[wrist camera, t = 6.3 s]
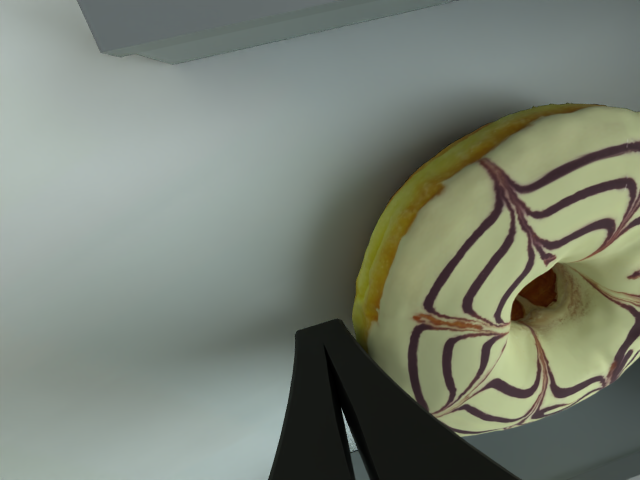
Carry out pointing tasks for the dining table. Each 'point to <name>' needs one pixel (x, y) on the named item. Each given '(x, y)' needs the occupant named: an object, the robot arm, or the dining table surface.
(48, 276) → the dining table surface
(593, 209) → the decorated donut
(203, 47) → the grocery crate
